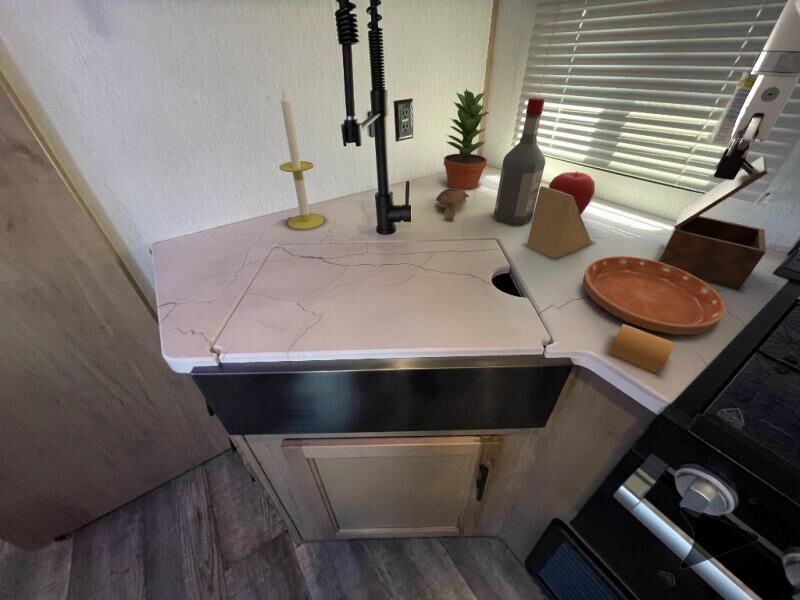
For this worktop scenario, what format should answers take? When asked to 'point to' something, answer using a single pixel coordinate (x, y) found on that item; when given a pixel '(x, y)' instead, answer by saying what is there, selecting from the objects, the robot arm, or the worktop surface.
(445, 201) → the toy tortoise
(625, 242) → the worktop surface
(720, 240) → the bin
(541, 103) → the liquor
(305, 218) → the candle
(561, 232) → the sandwich container
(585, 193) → the apple
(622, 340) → the orange cylinder
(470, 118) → the potted plant
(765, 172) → the bread lid
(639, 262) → the saucer
